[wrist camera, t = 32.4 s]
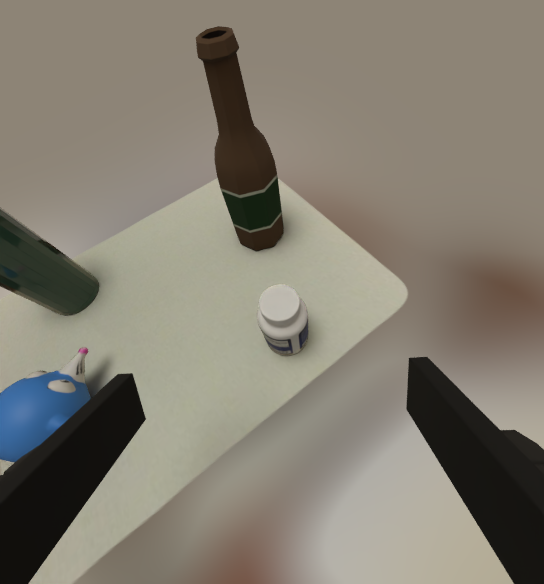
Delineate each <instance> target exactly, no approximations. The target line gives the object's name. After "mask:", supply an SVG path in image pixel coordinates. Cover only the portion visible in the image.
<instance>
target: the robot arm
mask: <svg viewBox="0 0 544 584" xmlns="http://www.w3.org/2000/svg"><path fill="white" fill-rule="evenodd" d="M408 371H409V372H408V390H407V411H408V412H409V414H410V416H411V417H412V419H413V420H414V422H415V424H416V425H417V427H418V428H419V430H420V432H421V433H422V435H423V437H424V438H425V440H426V442H427V443H428V445H429V446H430V448H431V449H432V451H433V453H434V454H435V456H436V458H437V459H438V461H439V463H440V464H441V466H442V467H443V469H444V471H445V472H446V474H447V476H448V477H449V479H450V480H451V482H452V484H453V485H454V487H455V489H456V490H457V492H458V493H459V495H460V497H461V498H462V500H463V502H464V503H465V505H466V506H467V508H468V510H469V511H470V513H471V514H472V516H473V518H474V519H475V521H476V523H477V524H478V526H479V527H480V529H481V530H482V532H483V534H484V536H485V537H486V539H487V540H488V542H489V544H490V545H491V547H492V548H493V550H494V552H495V553H496V555H497V557H498V558H499V560H500V561H501V563H502V564H503V566H504V568H505V569H506V571H507V573H508V574H509V576H510V578H511V579H512V581H513V583H514V584H544V450H543V449H542V448H541V447H540V446H539V445H538V444H537V443H535V442H533V441H532V440H530V439H529V438H527V437H525V436H524V435H522V434H520V433H519V432H517V431H516V430H499V429H498V428H497V427H496V426H495V425H494V424H493V423H492V422H491V421H490V420H489V419H488V418H487V417H486V416H485V415H484V414H483V413H482V412H481V411H480V410H479V409H478V408H477V407H476V406H475V405H474V404H473V403H472V402H471V401H470V400H469V399H468V398H467V397H466V396H465V395H464V394H463V393H462V392H461V391H460V390H459V388H458V387H457V386H456V385H454V383H453V382H452V381H450V380H449V378H448V377H447V376H446V375H444V374H443V372H442V371H440V369H439V368H438V367H436V365H434V363H433V362H432V361H431V360H430V359H428V357H417V358H409V370H408ZM145 420H146V418H145V415H144V412H143V408H142V405H141V401H140V398H139V394H138V391H137V387H136V384H135V381H134V377H133V374H132V373H130V374H118V375H116V376H115V377H114V378H113V379H112V380H111V381H110V382H109V383H108V384H107V385H105V386H104V387H103V388H102V389H101V390H100V391H99V392H98V393H97V394H96V395H94V396H93V397H92V398H91V399H90V400H89V401H88V402H87V403H86V404H85V405H83V406H82V407H81V408H80V409H79V410H78V411H77V412H76V413H75V414H74V415H72V416H71V417H70V418H69V419H68V420H67V421H66V422H65V423H64V424H63V425H61V426H60V427H59V428H58V429H57V430H56V431H55V432H54V433H53V434H52V435H50V436H49V437H48V438H47V439H46V440H45V441H44V442H43V443H42V444H41V445H39V446H37V447H36V448H34V449H33V450H31V451H30V452H28V453H27V454H25V455H24V456H22V457H21V458H19V459H18V460H17V461H16V462H15V463H14V464H13V465H12V466H10V467H9V468H8V469H7V470H6V471H5V472H4V474H3V475H0V584H28V583H29V582H30V580H31V579H32V578H33V576H34V575H35V573H36V572H37V571H38V569H39V568H40V566H41V565H42V564H43V562H44V561H45V559H46V558H47V557H48V555H49V554H50V552H51V551H52V550H53V548H54V547H55V545H56V544H57V543H58V541H59V540H60V538H61V537H62V536H63V534H64V533H65V531H66V530H67V529H68V527H69V526H70V524H71V523H72V522H73V520H74V519H75V517H76V516H77V515H78V513H79V512H80V510H81V509H82V508H83V506H84V505H85V503H86V502H87V501H88V499H89V498H90V496H91V495H92V494H93V492H94V491H95V489H96V488H97V487H98V485H99V484H100V482H101V481H102V480H103V478H104V477H105V475H106V474H107V473H108V471H109V470H110V468H111V467H112V466H113V464H114V463H115V461H116V460H117V459H118V457H119V456H120V454H121V453H122V452H123V450H124V449H125V448H126V446H127V445H128V443H129V442H130V441H131V439H132V438H133V436H134V435H135V434H136V432H137V431H138V429H139V428H140V427H141V425H142V424H143V422H144V421H145Z"/></svg>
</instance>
